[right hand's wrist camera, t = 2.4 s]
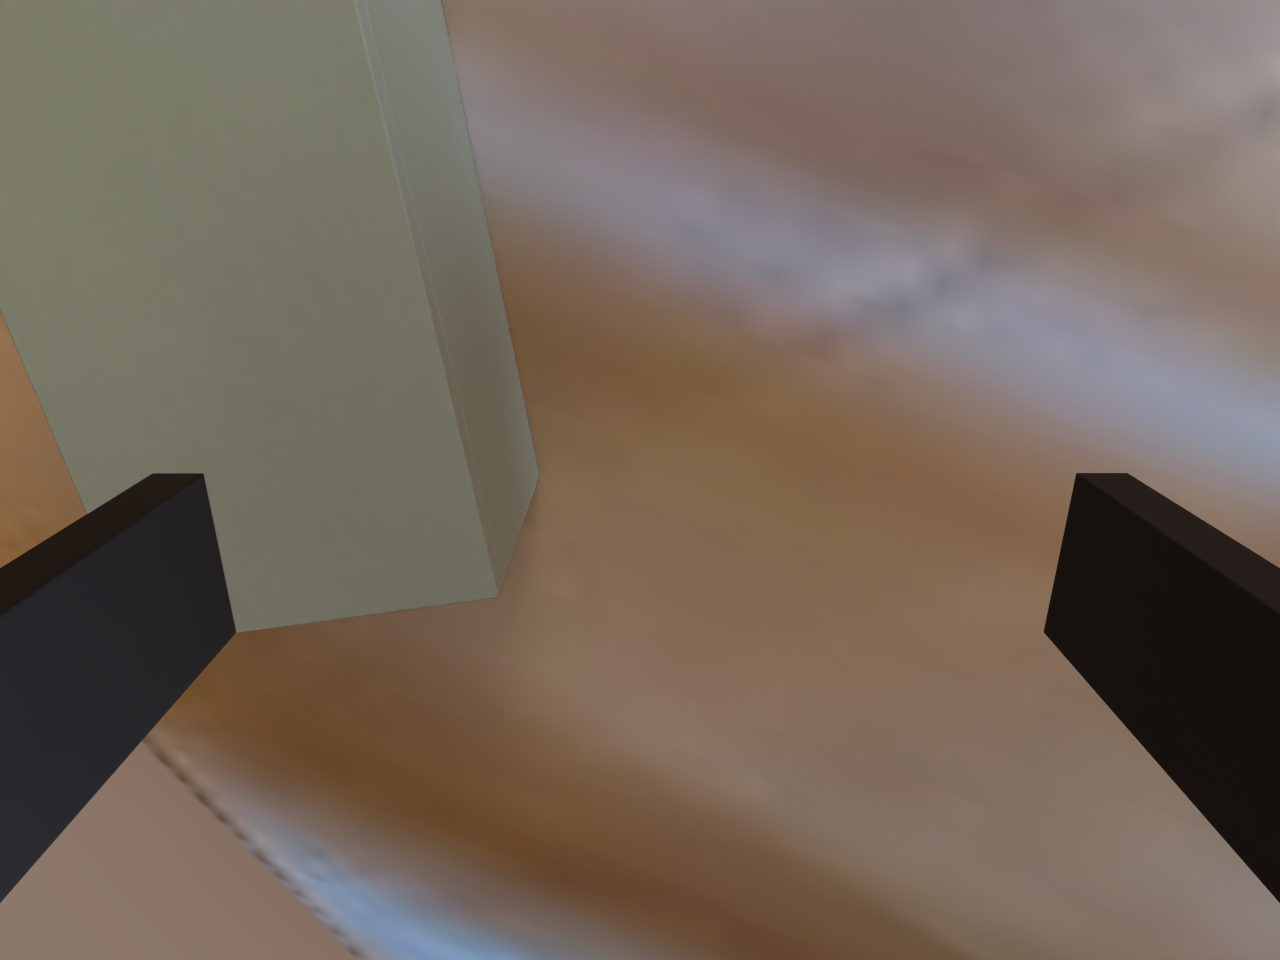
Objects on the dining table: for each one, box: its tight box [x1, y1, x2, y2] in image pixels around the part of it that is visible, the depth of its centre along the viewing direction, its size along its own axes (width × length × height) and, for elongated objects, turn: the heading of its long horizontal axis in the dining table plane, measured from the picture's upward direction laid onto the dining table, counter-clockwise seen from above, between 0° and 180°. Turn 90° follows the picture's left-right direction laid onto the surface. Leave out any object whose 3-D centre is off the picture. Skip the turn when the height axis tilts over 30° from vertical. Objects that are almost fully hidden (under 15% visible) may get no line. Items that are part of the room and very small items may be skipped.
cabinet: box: [0, 0, 540, 633], centre depth 26 cm, size 18×11×10 cm, turn 9°
